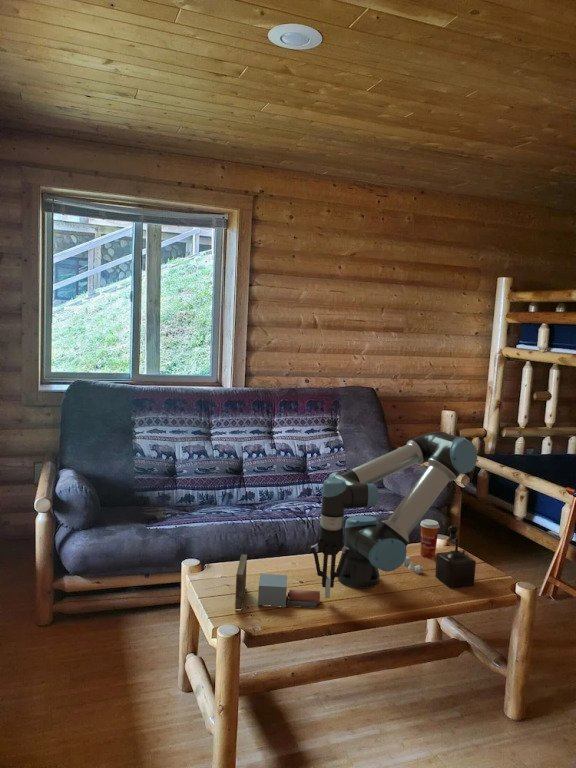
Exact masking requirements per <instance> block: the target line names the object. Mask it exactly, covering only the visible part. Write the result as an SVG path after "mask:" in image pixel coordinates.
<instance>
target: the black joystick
mask: <svg viewBox="0 0 576 768" xmlns="http://www.w3.org/2000/svg"><path fill="white" fill-rule="evenodd" d="M447 528H448V529H447V530H448V532H449V533H450V536H449V538H447V542H448V543H450V544H453V545H454V547H455V548H454V550H451V551H450V550H449V551H444V552H438V553H436V559H435V561H436V562H435V575H434V576H435V578H436V579H437V580H438V581H439V582H441V583H442V584H443V585H445V586H446V587H447V588H449V589H460V588H468V587H470V588H471V587H475V577H476V565H477V563H476V560H475V559H473V558H472V557H470V555H469V554H468V553H466V550H463V551H460V550H458V549H459V544H460V539H459V537H458V532H459V527H458V526H457V525H449V527H447ZM453 540H454V541H453Z"/></svg>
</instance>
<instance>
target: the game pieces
mask: <svg viewBox="0 0 576 768" xmlns="http://www.w3.org/2000/svg"><path fill="white" fill-rule="evenodd" d="M405 565H406V566H407V569H408V570H411V571H414V572H415V573H416V574H417V575H419V574H422V573H423V572H424V569H425V568H424V566H422V565H420V564H417V565H414V562H412V561H411V557H409V556H408V555H407V554H406V559H405V561H404V563H403V564H402V565H401V566H403V567H405Z"/></svg>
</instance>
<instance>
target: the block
mask: <svg viewBox="0 0 576 768" xmlns="http://www.w3.org/2000/svg"><path fill="white" fill-rule="evenodd" d="M287 590H288V575H287V574H271V573H268V574H267V573H260V575H259V581H258V591H257V592H258V596H257V606H258V605H271V606H281V607H280V608H286V607H287V592H288V591H287Z"/></svg>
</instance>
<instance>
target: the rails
mask: <svg viewBox="0 0 576 768" xmlns="http://www.w3.org/2000/svg"><path fill="white" fill-rule="evenodd" d="M288 597H289V591H287V598H288ZM287 605H288V606H287ZM317 605H318V604H317V602H312V601H293V600H289V599H287V600H286V606H287V607H289V606H301V607H300V608H309V607H315V608H314V609H317V607H318V606H317Z"/></svg>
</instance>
